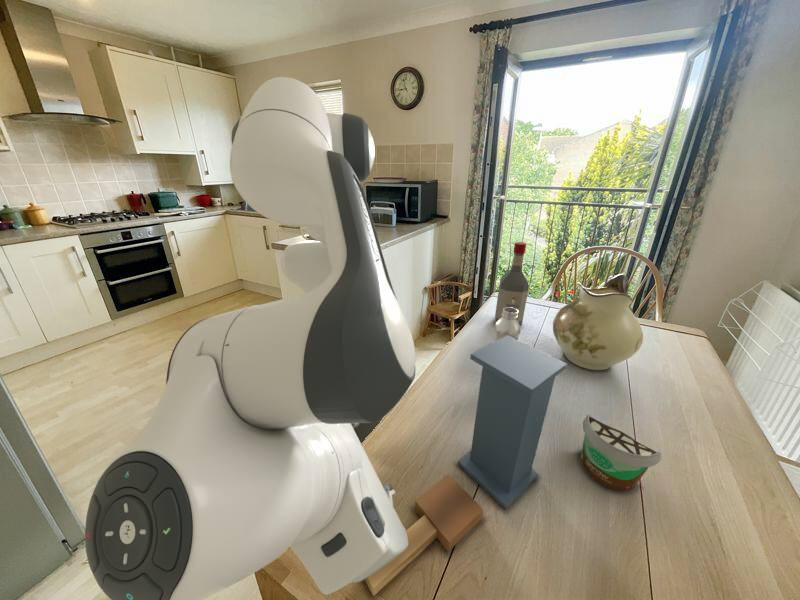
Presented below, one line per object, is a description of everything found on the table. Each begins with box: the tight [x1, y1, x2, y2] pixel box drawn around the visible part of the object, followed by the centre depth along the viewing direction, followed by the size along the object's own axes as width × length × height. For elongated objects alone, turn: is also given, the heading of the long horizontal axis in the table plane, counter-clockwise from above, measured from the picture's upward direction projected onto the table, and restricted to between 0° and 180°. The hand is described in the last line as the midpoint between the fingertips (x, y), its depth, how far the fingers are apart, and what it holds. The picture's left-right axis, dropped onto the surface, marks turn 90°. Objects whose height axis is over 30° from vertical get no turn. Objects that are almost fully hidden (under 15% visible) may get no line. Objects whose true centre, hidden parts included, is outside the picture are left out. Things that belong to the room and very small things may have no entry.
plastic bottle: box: [493, 307, 521, 342], centre depth 83 cm, size 6×7×20 cm
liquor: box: [494, 241, 530, 328], centre depth 109 cm, size 9×9×30 cm
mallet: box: [363, 473, 484, 597], centre depth 49 cm, size 8×20×2 cm, turn 128°
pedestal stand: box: [457, 335, 568, 510], centre depth 55 cm, size 11×10×26 cm
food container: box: [580, 412, 663, 492], centre depth 57 cm, size 12×6×10 cm, turn 40°
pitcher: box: [552, 273, 644, 371], centre depth 90 cm, size 22×24×25 cm
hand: (369, 455), depth 41 cm, fingers open, 8 cm apart
